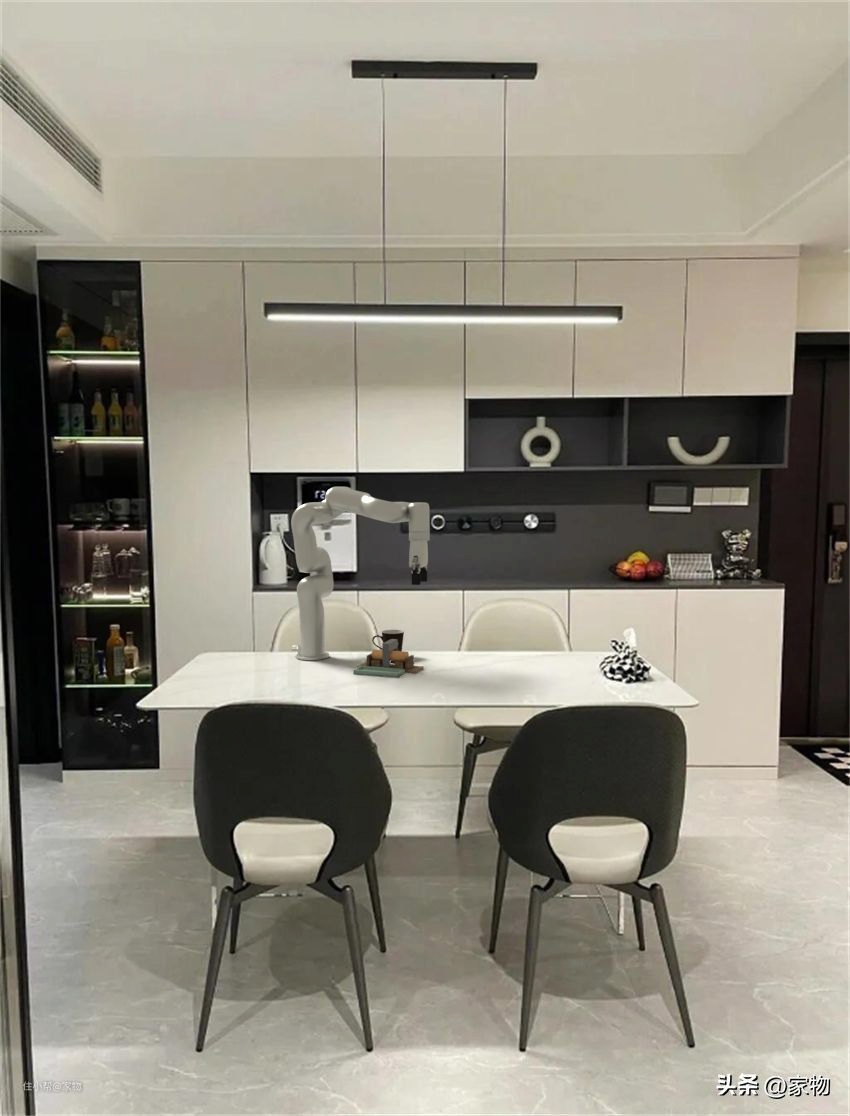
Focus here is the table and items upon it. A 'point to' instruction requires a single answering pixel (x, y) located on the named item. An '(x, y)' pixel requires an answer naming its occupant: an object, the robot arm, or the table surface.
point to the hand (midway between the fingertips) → (419, 583)
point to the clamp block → (406, 664)
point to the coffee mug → (391, 637)
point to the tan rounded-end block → (393, 655)
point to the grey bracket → (388, 651)
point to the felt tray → (379, 671)
